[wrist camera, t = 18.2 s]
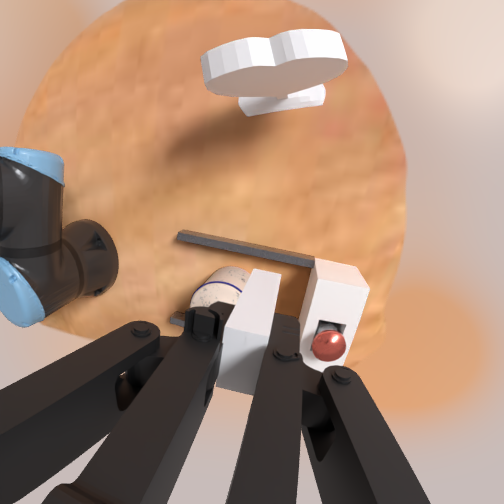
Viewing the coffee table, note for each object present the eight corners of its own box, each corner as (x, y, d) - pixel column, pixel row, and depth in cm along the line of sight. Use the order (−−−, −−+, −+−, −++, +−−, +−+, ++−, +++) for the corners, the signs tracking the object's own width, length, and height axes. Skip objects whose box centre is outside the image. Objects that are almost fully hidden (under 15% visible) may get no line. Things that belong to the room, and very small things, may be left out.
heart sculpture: (327, 74, 39) (342, 20, 21) (334, 103, 40) (355, 60, 22) (230, 90, 41) (191, 46, 24) (235, 119, 43) (197, 86, 25)
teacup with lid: (209, 313, 51) (186, 347, 40) (204, 263, 49) (178, 288, 38) (278, 316, 49) (271, 354, 38) (277, 264, 47) (271, 291, 36)
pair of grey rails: (175, 317, 52) (170, 323, 50) (183, 229, 48) (177, 232, 46) (291, 344, 50) (291, 352, 48) (314, 256, 46) (315, 260, 43)
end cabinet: (291, 343, 50) (289, 378, 40) (314, 257, 46) (317, 278, 36) (329, 350, 49) (334, 385, 40) (356, 266, 45) (369, 288, 36)
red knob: (307, 333, 43) (308, 358, 36) (315, 307, 42) (317, 330, 35) (335, 338, 43) (340, 364, 36) (343, 312, 41) (350, 336, 35)
